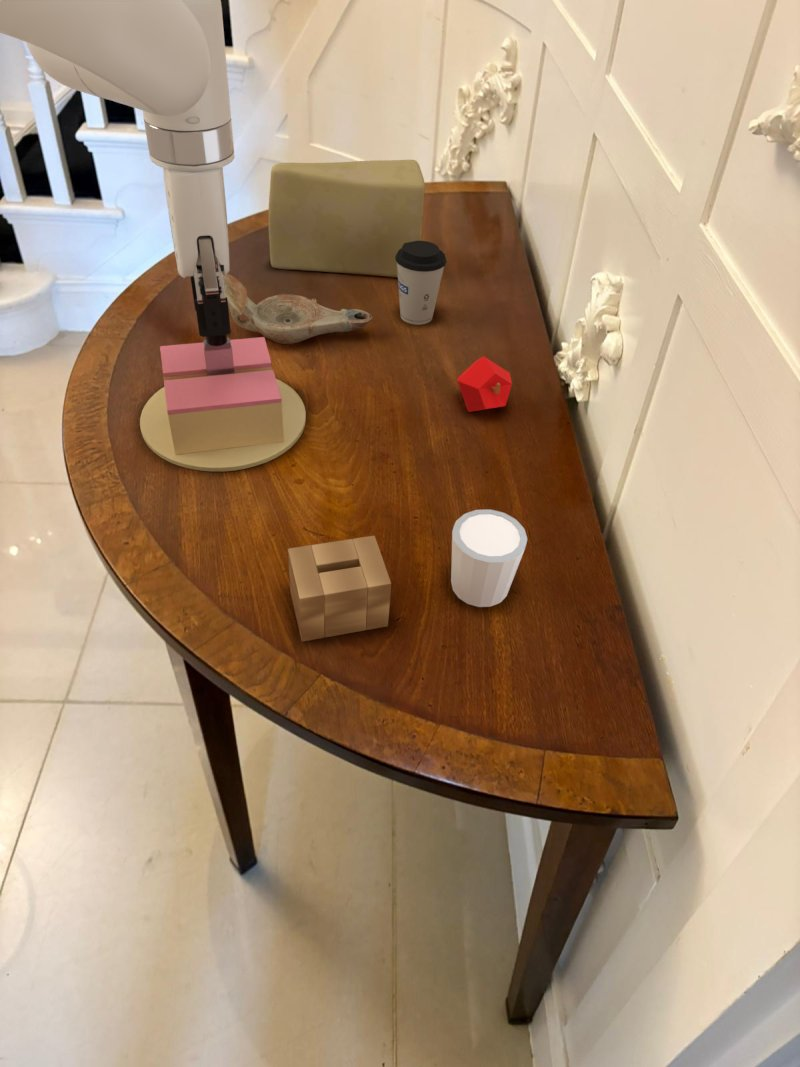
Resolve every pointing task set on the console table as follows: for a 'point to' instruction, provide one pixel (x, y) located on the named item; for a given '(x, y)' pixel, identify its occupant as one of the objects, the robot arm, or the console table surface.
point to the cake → (221, 410)
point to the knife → (218, 354)
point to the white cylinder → (485, 556)
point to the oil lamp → (288, 315)
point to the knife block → (339, 587)
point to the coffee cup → (419, 280)
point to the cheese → (344, 215)
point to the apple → (484, 385)
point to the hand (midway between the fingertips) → (212, 320)
